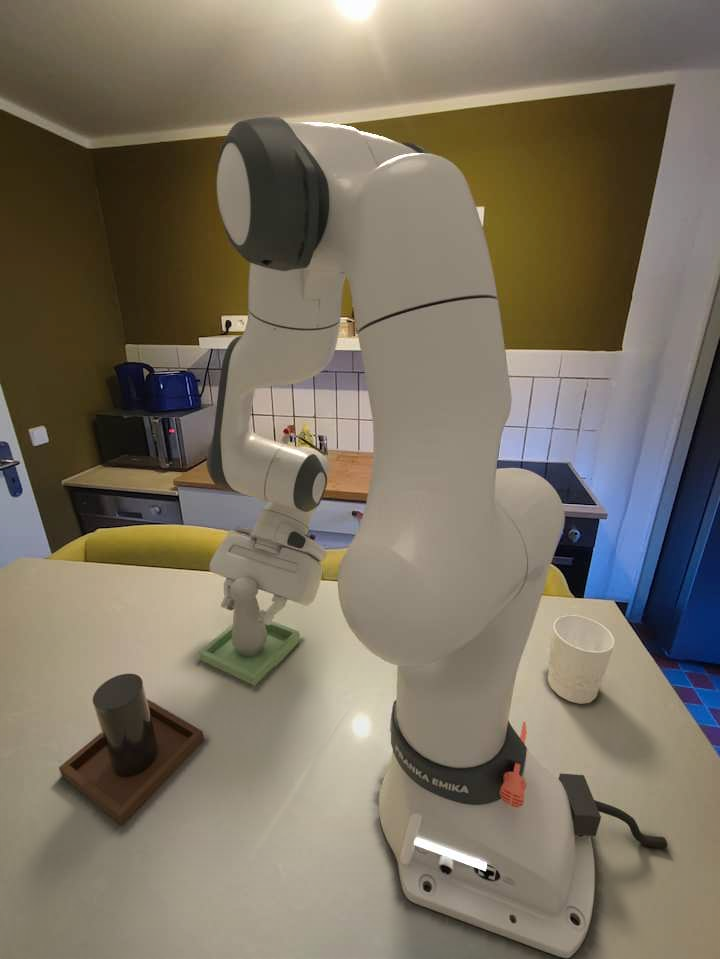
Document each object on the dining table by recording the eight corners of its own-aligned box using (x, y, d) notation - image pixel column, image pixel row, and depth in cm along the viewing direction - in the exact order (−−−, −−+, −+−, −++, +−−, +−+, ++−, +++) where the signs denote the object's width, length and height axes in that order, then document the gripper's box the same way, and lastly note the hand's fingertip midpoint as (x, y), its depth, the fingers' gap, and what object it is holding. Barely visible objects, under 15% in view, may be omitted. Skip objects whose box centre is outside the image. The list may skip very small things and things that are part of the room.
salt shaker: (259, 663, 69) (252, 595, 64) (226, 658, 70) (217, 591, 65) (273, 638, 74) (267, 574, 69) (243, 634, 75) (235, 570, 71)
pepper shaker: (167, 748, 55) (152, 683, 51) (130, 785, 51) (110, 716, 47) (140, 731, 57) (124, 667, 53) (103, 765, 53) (82, 698, 49)
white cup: (607, 684, 65) (621, 631, 61) (591, 718, 60) (605, 661, 56) (554, 658, 70) (564, 607, 67) (535, 687, 65) (544, 633, 61)
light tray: (300, 641, 74) (299, 631, 73) (255, 689, 65) (253, 678, 64) (248, 620, 79) (247, 611, 79) (200, 662, 70) (198, 652, 69)
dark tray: (204, 742, 56) (202, 730, 56) (123, 829, 47) (119, 816, 46) (146, 707, 62) (144, 696, 61) (62, 779, 52) (58, 767, 51)
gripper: (222, 517, 75) (186, 593, 71) (319, 543, 66) (285, 632, 62) (242, 530, 81) (210, 601, 76) (335, 555, 72) (304, 638, 67)
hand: (244, 616), depth 69 cm, fingers open, 6 cm apart
